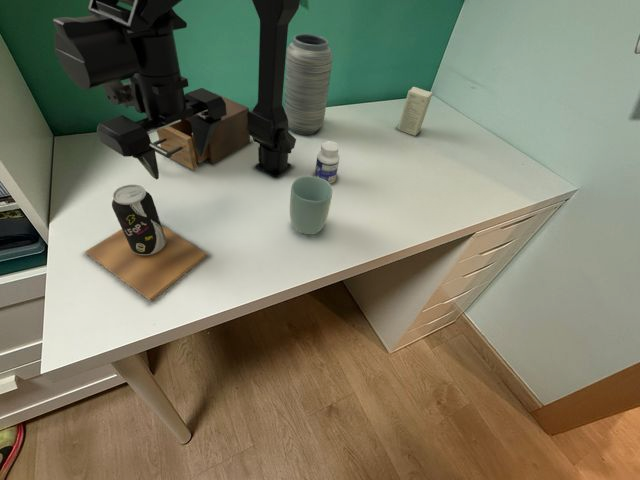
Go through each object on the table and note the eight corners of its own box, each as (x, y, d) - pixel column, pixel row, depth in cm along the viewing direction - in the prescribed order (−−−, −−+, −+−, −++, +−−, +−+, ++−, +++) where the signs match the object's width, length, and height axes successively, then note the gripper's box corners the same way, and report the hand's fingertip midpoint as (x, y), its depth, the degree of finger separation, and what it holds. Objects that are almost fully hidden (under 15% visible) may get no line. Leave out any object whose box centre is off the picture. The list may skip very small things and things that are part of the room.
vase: (275, 127, 94) (277, 37, 78) (298, 113, 101) (304, 28, 85) (309, 141, 91) (318, 51, 74) (330, 127, 98) (343, 41, 82)
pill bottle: (313, 170, 82) (317, 138, 75) (334, 171, 82) (340, 140, 76) (315, 183, 78) (319, 151, 72) (336, 184, 79) (343, 152, 72)
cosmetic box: (419, 131, 103) (434, 92, 94) (414, 136, 100) (429, 97, 92) (401, 124, 105) (413, 85, 96) (396, 129, 102) (408, 90, 93)
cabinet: (212, 164, 78) (207, 127, 71) (179, 147, 82) (171, 110, 75) (250, 142, 87) (248, 107, 80) (218, 127, 90) (214, 92, 83)
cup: (321, 243, 65) (328, 205, 58) (283, 235, 65) (286, 196, 58) (328, 218, 70) (336, 180, 63) (293, 210, 71) (297, 171, 63)
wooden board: (207, 256, 59) (206, 253, 59) (150, 301, 52) (149, 298, 51) (146, 217, 64) (145, 214, 63) (86, 254, 56) (85, 251, 56)
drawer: (177, 179, 72) (169, 147, 66) (146, 161, 75) (136, 130, 69) (231, 148, 82) (228, 119, 77) (202, 134, 85) (197, 105, 80)
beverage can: (173, 246, 59) (157, 194, 50) (142, 263, 56) (120, 211, 47) (155, 229, 61) (137, 177, 52) (125, 245, 58) (100, 191, 49)
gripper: (173, 39, 52) (190, 129, 64) (49, 66, 41) (96, 170, 52) (224, 60, 49) (232, 152, 60) (104, 96, 37) (141, 200, 49)
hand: (179, 166), depth 55 cm, fingers open, 9 cm apart
